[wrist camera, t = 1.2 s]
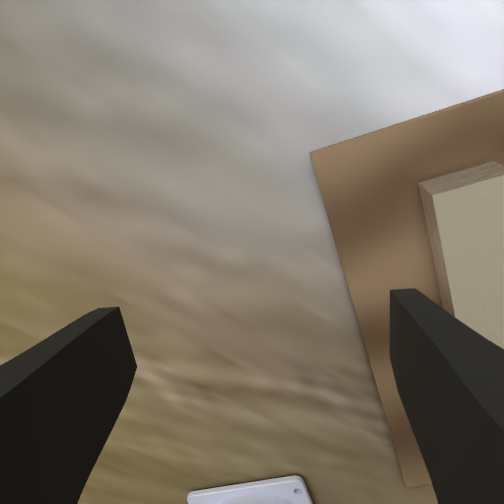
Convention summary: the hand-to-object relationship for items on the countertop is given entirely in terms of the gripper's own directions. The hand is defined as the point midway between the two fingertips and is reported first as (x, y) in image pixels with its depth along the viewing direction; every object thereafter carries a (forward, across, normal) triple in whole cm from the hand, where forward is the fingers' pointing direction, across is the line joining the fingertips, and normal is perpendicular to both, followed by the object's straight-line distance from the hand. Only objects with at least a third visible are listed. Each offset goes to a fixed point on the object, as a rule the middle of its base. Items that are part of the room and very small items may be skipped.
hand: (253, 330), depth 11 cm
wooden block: (+9, -9, +6) cm, 14 cm away
